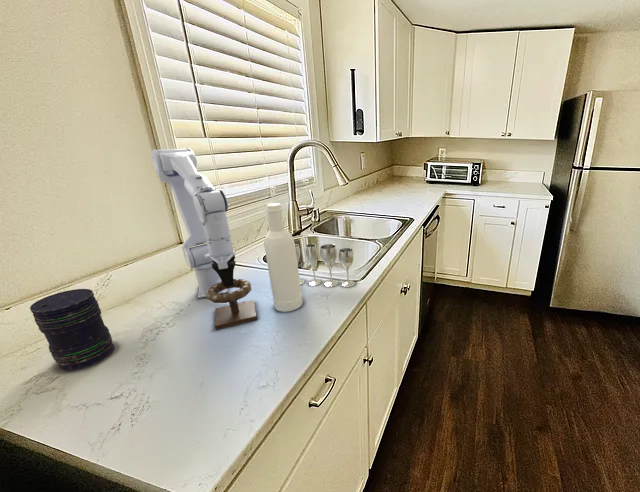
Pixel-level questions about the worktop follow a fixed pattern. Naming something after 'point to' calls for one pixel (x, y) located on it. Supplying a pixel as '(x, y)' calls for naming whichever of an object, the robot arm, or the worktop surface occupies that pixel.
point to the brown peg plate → (235, 314)
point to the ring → (228, 297)
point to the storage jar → (73, 329)
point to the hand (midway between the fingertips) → (228, 283)
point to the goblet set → (328, 261)
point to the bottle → (282, 262)
